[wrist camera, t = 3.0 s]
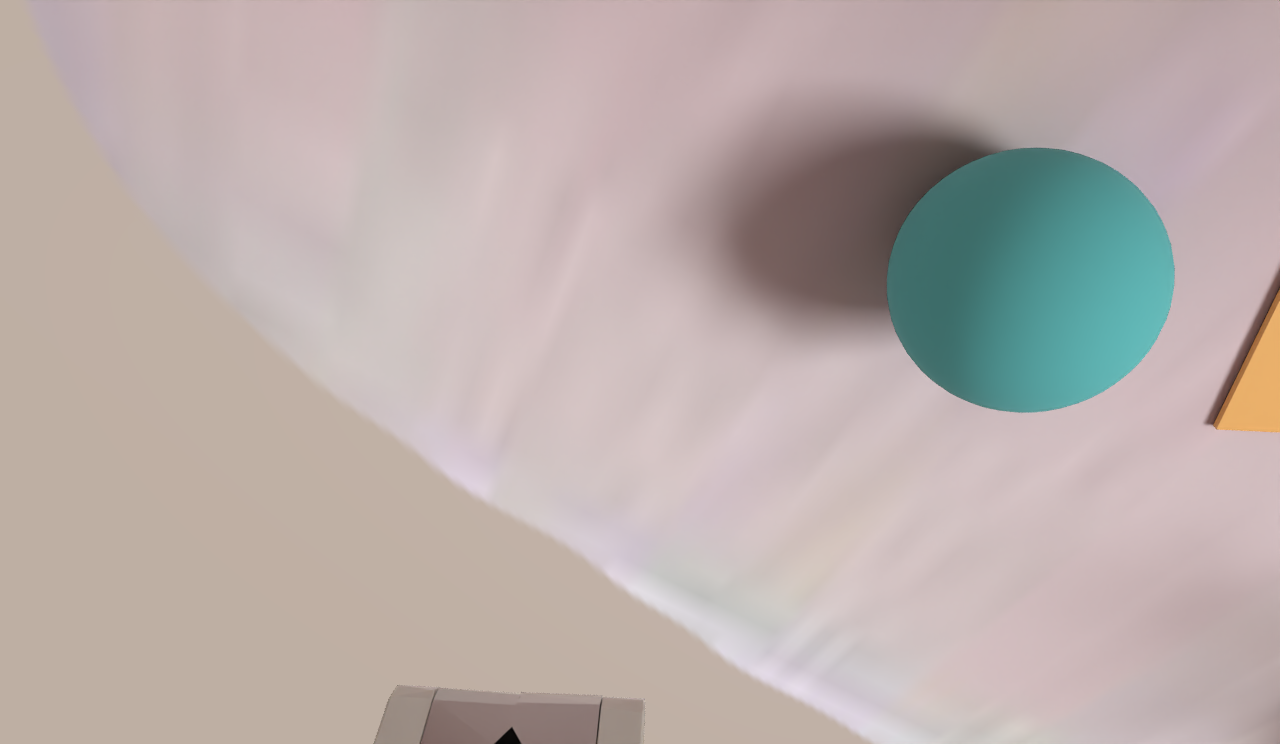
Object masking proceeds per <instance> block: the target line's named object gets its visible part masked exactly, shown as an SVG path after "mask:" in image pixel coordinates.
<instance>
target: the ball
mask: <svg viewBox="0 0 1280 744" xmlns="http://www.w3.org/2000/svg"><path fill="white" fill-rule="evenodd" d="M1174 271H1175V268H1174V262H1173V255H1172V249H1171V243H1170V240H1169V237H1168V235H1167V232H1166V229H1165V227H1164V225H1163V222H1162V220H1161V218H1160V217H1159V215H1158V213H1157V211H1156V210H1155V208H1154V206H1153V205H1152V204H1151V203H1150V202H1149V200H1148V199H1147V198H1146V197H1145V196H1144V194H1143V193H1142V192H1141V191H1140V190H1139V188H1138V187H1137V186H1135V185H1134V184H1133V183H1132V182H1131V181H1130V180H1128V179H1127V178H1126V177H1125V176H1123V175H1122V174H1120V173H1119V172H1118V171H1116V170H1114V169H1113V168H1111V167H1109V166H1108V165H1106V164H1104V163H1102V162H1100V161H1097V160H1095V159H1092V158H1089V157H1087V156H1084V155H1081V154H1078V153H1074V152H1070V151H1066V150H1059V149H1049V148H1021V149H1014V150H1007V151H1002V152H999V153H995V154H991V155H988V156H985V157H983V158H980V159H978V160H975V161H972V162H970V163H968V164H967V165H965V166H963V167H961V168H959V169H957V170H955V171H954V172H952V173H951V174H949V175H948V176H946V177H945V178H943V179H942V180H941V181H940V182H938V183H937V184H936V185H935V186H934V187H932V188H931V189H930V190H929V191H928V192H927V193H926V194H925V195H924V196H923V197H922V198H921V199H920V200H919V201H918V203H917V204H916V205H915V207H914V208H913V209H912V211H911V212H910V213H909V215H908V216H907V218H906V220H905V221H904V223H903V225H902V227H901V228H900V231H899V233H898V236H897V238H896V240H895V243H894V245H893V248H892V252H891V256H890V259H889V265H888V273H887V300H888V305H889V310H890V315H891V320H892V322H893V325H894V328H895V331H896V333H897V335H898V337H899V339H900V341H901V343H902V345H903V347H904V348H905V350H906V352H907V354H908V355H909V356H910V357H911V359H912V360H913V361H914V362H915V364H916V365H917V366H918V367H919V368H920V369H921V371H922V372H923V373H925V374H926V375H927V376H928V377H929V378H930V379H931V380H932V381H934V382H935V383H936V384H938V385H939V386H941V387H942V388H944V389H945V390H946V391H948V392H949V393H951V394H953V395H955V396H957V397H959V398H961V399H963V400H966V401H968V402H970V403H973V404H976V405H979V406H982V407H985V408H990V409H995V410H1001V411H1009V412H1042V411H1049V410H1054V409H1059V408H1063V407H1067V406H1070V405H1073V404H1077V403H1079V402H1082V401H1084V400H1087V399H1089V398H1092V397H1094V396H1095V395H1097V394H1099V393H1101V392H1103V391H1105V390H1106V389H1108V388H1109V387H1111V386H1113V385H1114V384H1115V383H1117V382H1118V381H1119V380H1121V379H1122V378H1123V377H1124V376H1126V375H1127V374H1128V373H1129V372H1130V371H1131V370H1132V369H1133V368H1134V367H1136V366H1137V365H1138V364H1139V363H1140V361H1141V360H1142V359H1143V358H1144V357H1145V355H1146V354H1147V353H1148V352H1149V350H1150V349H1151V347H1152V346H1153V344H1154V343H1155V341H1156V339H1157V337H1158V335H1159V333H1160V331H1161V329H1162V327H1163V325H1164V323H1165V321H1166V319H1167V316H1168V313H1169V310H1170V307H1171V301H1172V295H1173V289H1174Z"/></svg>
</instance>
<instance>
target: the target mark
mask: <svg viewBox="0 0 1280 744" xmlns="http://www.w3.org/2000/svg"><path fill="white" fill-rule="evenodd" d="M1213 426H1214V427H1215V428H1216V429H1219V430H1241V431H1262V432H1280V289H1279V291H1278V293H1277V295H1276V297H1275V299H1274V301H1273V303H1272V305H1271V307H1270V309H1269V312H1268V314H1267V316H1266V318H1265V320H1264V322H1263V324H1262V326H1261V328H1260V330H1259V332H1258V334H1257V336H1256V338H1255V340H1254V342H1253V344H1252V346H1251V349H1250V351H1249V353H1248V355H1247V357H1246V359H1245V361H1244V363H1243V365H1242V367H1241V369H1240V371H1239V373H1238V375H1237V377H1236V379H1235V381H1234V383H1233V385H1232V388H1231V390H1230V392H1229V394H1228V396H1227V398H1226V400H1225V402H1224V404H1223V406H1222V408H1221V410H1220V412H1219V414H1218V416H1217V418H1216V420H1215V422H1214V425H1213Z"/></svg>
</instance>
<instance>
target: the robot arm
mask: <svg viewBox="0 0 1280 744" xmlns="http://www.w3.org/2000/svg"><path fill="white" fill-rule="evenodd" d="M644 722H645V699H641V698H614V697H603V698H602V696H598V695H575V694H550V693H524V692H521V693H507V692H492V691H477V690H462V689H448V688H440V687H425V686H405V685H397V687H396V688H395V690H394V691H393V693H392V694H391V696H390V697H389V699H388V702H387V705H386V708H385V711H384V714H383V717H382V720H381V723H380V726H379V729H378V732H377V735H376V738H375V741H374V744H644V724H645V723H644Z"/></svg>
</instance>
